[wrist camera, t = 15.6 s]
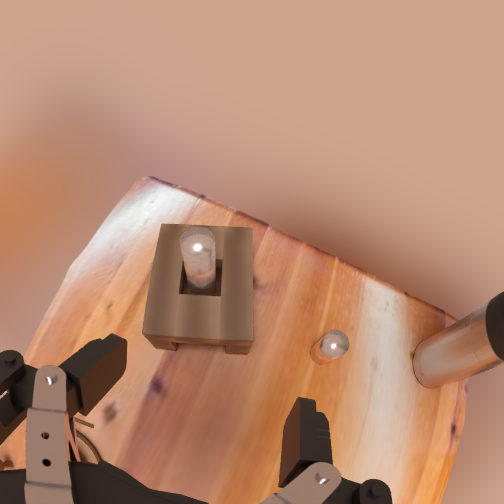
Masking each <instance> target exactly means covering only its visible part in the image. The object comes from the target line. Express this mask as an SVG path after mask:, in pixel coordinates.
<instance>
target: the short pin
mask: <svg viewBox="0 0 504 504" xmlns="http://www.w3.org/2000/svg"><path fill="white" fill-rule="evenodd" d="M348 348H349V340H348V338H347V336H346V335H345V334H344V333H343V332H341V331H339V330H333V331H330V332H329V333H327V334H326V335H325V336H324V337H323V338H321V339H320V340H319V341H318V342H317V343H316V344H314V345H313V346H312V348H311V351H310V355H311V358H312V360H313V361H314V362H315V363H316V364H319V365H325V364H328V363H329V362H331V361H333V360H335V359H337V358H338V357H340V356H342V355H344V354H345V353H346V352H347V350H348Z"/></svg>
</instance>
